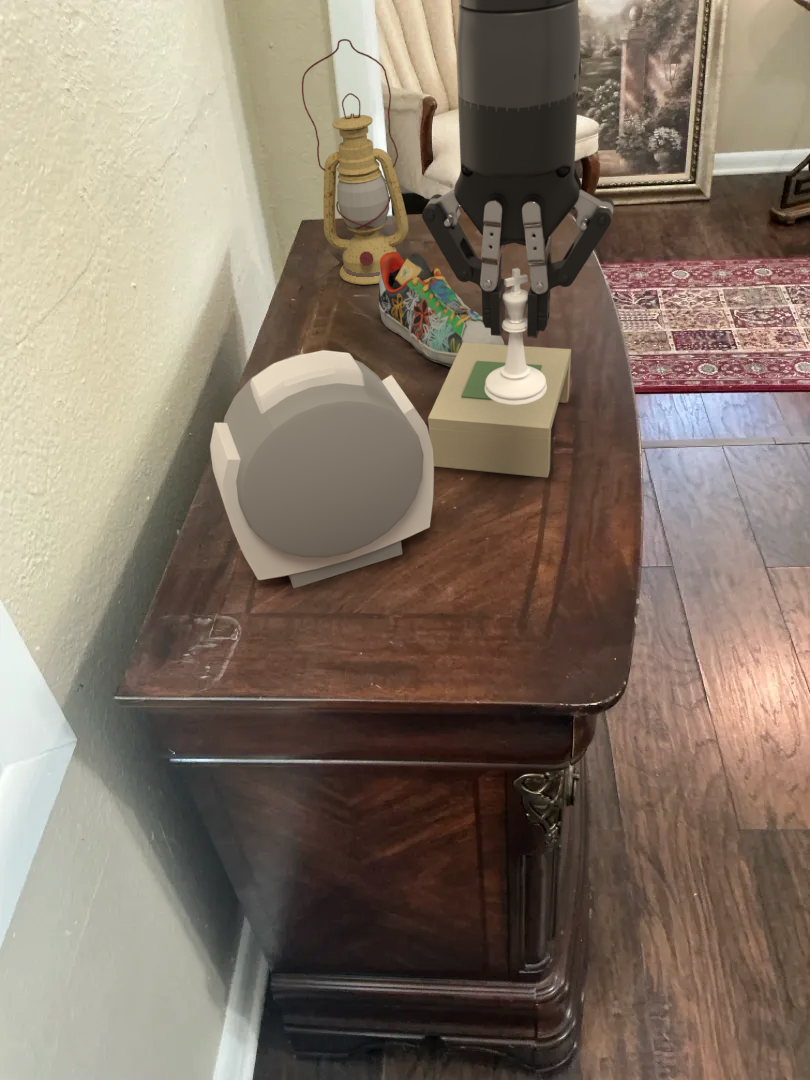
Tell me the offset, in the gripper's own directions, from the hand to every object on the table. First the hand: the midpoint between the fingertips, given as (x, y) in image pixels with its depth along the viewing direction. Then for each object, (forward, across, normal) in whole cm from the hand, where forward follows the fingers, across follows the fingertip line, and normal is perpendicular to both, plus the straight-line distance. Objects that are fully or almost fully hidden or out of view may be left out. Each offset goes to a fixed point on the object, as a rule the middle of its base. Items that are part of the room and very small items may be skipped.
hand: (516, 331), depth 66 cm
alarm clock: (+22, -16, -5) cm, 27 cm away
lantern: (+22, -30, +54) cm, 66 cm away
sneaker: (+22, -16, +35) cm, 44 cm away
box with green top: (+22, -4, +17) cm, 28 cm away
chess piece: (+5, 0, 0) cm, 5 cm away
